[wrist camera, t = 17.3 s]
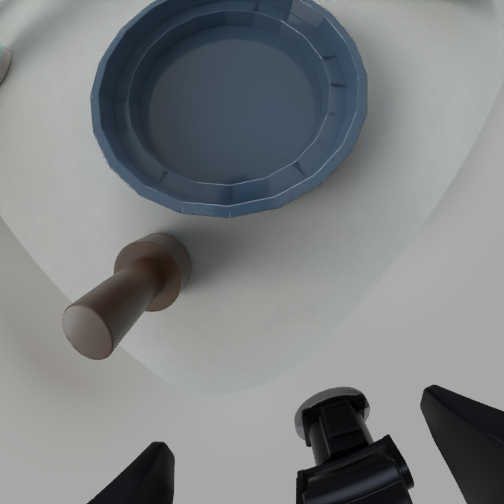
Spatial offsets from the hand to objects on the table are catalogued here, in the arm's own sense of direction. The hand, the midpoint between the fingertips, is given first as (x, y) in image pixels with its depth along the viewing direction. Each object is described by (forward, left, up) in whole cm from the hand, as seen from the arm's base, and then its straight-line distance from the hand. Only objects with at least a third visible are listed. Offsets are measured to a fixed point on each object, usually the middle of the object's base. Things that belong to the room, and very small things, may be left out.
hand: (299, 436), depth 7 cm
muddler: (+4, +7, -12) cm, 14 cm away
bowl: (+14, 0, -12) cm, 18 cm away
